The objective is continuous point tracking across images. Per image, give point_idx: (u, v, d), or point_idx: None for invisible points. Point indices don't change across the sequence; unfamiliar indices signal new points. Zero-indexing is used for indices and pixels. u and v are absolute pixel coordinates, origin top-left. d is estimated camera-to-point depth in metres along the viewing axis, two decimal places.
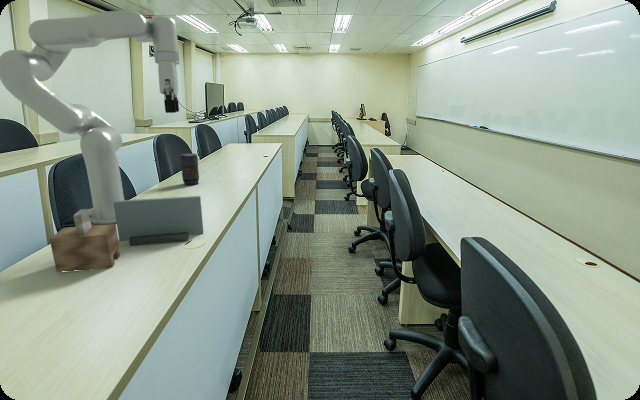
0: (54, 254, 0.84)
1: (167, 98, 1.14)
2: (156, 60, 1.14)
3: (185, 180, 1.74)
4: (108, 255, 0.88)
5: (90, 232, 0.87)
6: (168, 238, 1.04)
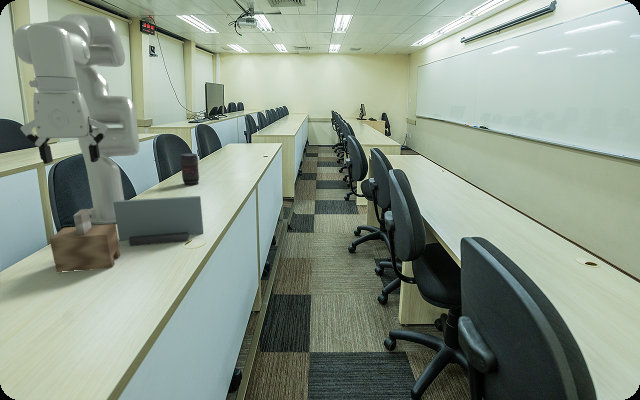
0: (54, 254, 0.84)
1: (98, 142, 0.84)
2: (64, 90, 0.77)
3: (185, 180, 1.74)
4: (108, 255, 0.88)
5: (90, 232, 0.87)
6: (168, 238, 1.04)
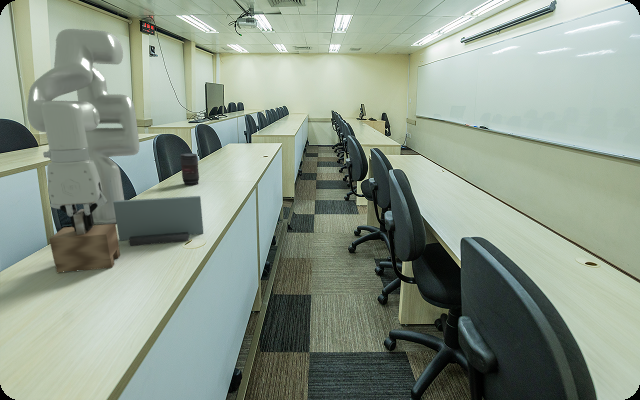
0: (54, 254, 0.84)
1: None
2: (76, 161, 0.81)
3: (185, 180, 1.74)
4: (108, 255, 0.87)
5: (89, 232, 0.87)
6: (168, 238, 1.04)
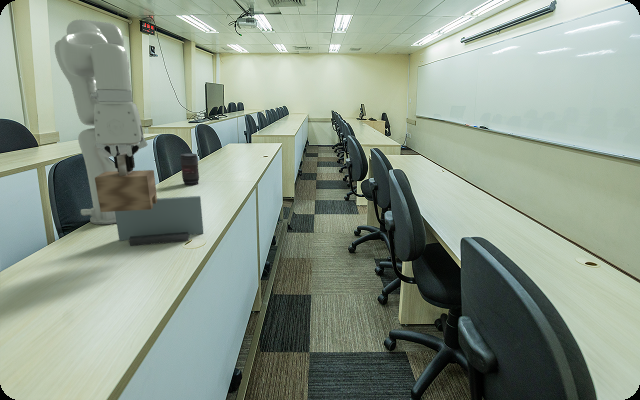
0: (98, 193, 0.89)
1: None
2: (121, 101, 0.85)
3: (185, 180, 1.74)
4: (148, 196, 0.91)
5: (131, 174, 0.91)
6: (168, 238, 1.04)
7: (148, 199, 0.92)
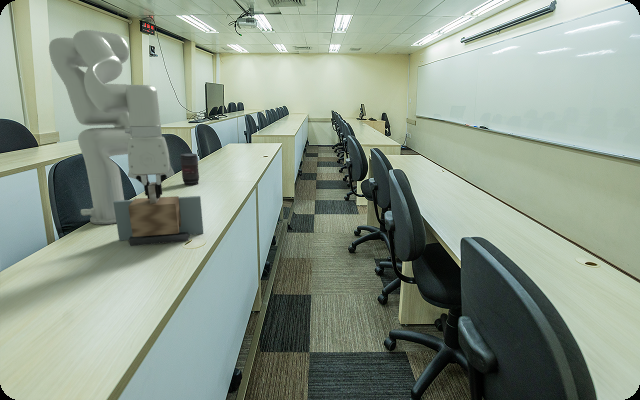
0: (131, 220, 0.97)
1: None
2: (153, 136, 0.94)
3: (185, 180, 1.74)
4: (176, 222, 1.01)
5: (160, 202, 1.00)
6: (168, 238, 1.04)
7: (176, 224, 1.01)
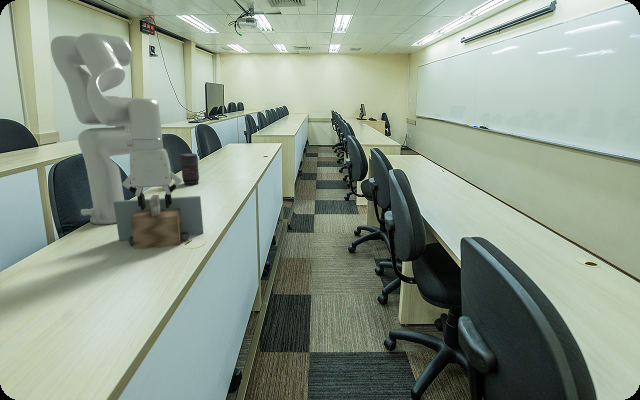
0: (133, 233, 0.98)
1: (171, 192, 1.01)
2: (155, 149, 0.95)
3: (185, 180, 1.74)
4: (177, 234, 1.02)
5: (161, 214, 1.01)
6: None
7: (177, 236, 1.02)
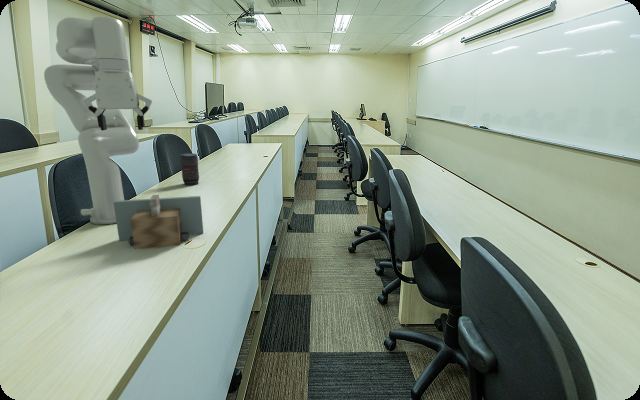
0: (133, 233, 0.98)
1: (144, 113, 1.02)
2: (119, 69, 0.96)
3: (185, 180, 1.74)
4: (177, 234, 1.02)
5: (161, 214, 1.01)
6: None
7: (177, 236, 1.02)
